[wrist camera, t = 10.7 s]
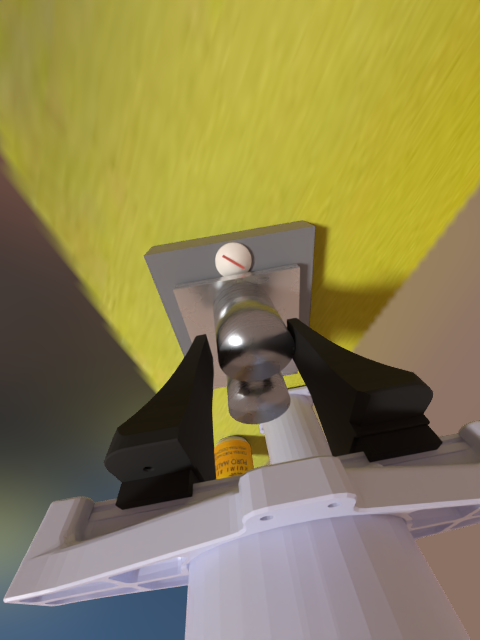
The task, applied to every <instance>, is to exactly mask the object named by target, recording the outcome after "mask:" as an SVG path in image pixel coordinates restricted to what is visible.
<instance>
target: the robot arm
mask: <svg viewBox="0 0 480 640" xmlns="http://www.w3.org/2000/svg"><path fill="white" fill-rule="evenodd" d="M287 329H288V331H289V332H290V334H291V336H292V338H293V340H294V343H295V352H294V355H293V357H292V359H293V361H294V363H295V365H296V367H297V369H298V371H299V373H300V374H301V376H302V378H303V380H304V382H305V384H306V386H304V387H298V388H293V389H287V390H288V392H289V395H290V398H291V403H290V406H289V408H288V409H287V411H286V412H285V413H284V414H283V415H281V416H280V417H278V418H276V419H274V420H272V421H269V422H266V423H261V424H259V427H260V433H261V434H265V439H266V444H267V449H268V454H269V458H270V463H271V465H266V466H261V467H257V468H254V469H251V470H249V471H247V472H246V473H244V474H243V475H237V476H232V477H227V478H222V479H216V469H215V455H214V440H213V421H212V398H213V381H214V365H213V356H212V353H211V349H210V346H209V342H208V339H207V336H206V334H203V335H198V336H196V337H195V339H194V341H193V343H192V345H191V346H190V348H189V350H188V352H187V354H186V355H185V357H184V359H183V360H182V362H181V363H180V365H179V366H178V368H177V369H176V371H175V372H174V374H173V375H172V376H171V378H170V379H169V380H168V381H167V383H166V384H165V385H164V386H163V387H162V388H161V389H160V391H159V392H158V393H157V394H156V395H155V396H154V397H153V398H152V399H151V400H150V401H149V402H148V403H147V404H146V405H145V406H143V407H142V408H141V409H140V410H139V411H138V412H137V413H136V414H135V415H133V416H132V417H131V418H129V419H128V420H127V421H126V422H125V423H123V424H122V425H121V426H119V427H118V428H117V430H116V433H115V434H114V437H113V439H112V442H111V445H110V447H109V450H108V453H107V455H106V458H105V460H104V464H105V467H106V468H107V470H108V471H109V472H110V473H112V474H113V475H114V476H116V478H117V479H119V480H120V481H121V482H122V484H121V487H120V491H119V494H118V497H117V499H112V500H106V501H102V502H96V503H94V502H93V501H92V500H91V499H90V498H87V497H74V498H69V499H64V500H59V501H54V502H53V503H51V505H50V507H49V509H48V511H47V513H46V515H45V517H44V519H43V521H42V523H41V525H40V527H39V529H38V531H37V533H36V535H35V537H34V539H33V541H32V543H31V545H30V547H29V549H28V551H27V553H26V555H25V557H24V559H23V561H22V563H21V565H20V567H19V569H18V571H17V573H16V575H15V577H14V579H13V581H12V583H11V585H10V587H9V589H8V591H7V593H6V595H5V597H4V599H3V600H4V602H5V603H17V604H31V605H44V606H58V605H63V604H68V603H74V602H79V601H85V600H90V599H96V598H102V597H109V596H115V595H122V594H128V593H135V592H143V591H150V590H156V589H163V588H170V587H177V586H184V585H188V596H187V597H188V598H187V613H186V630H185V640H471V639H470V637H469V635H468V634H467V632H466V630H465V628H464V627H463V625H462V623H461V621H460V619H459V618H458V616H457V614H456V612H455V611H454V609H453V607H452V605H451V604H450V602H449V600H448V598H447V596H446V595H445V593H444V591H443V589H442V588H441V586H440V584H439V582H438V581H437V579H436V577H435V575H434V573H433V572H432V570H431V568H430V566H429V565H428V563H427V561H426V559H425V558H424V556H423V554H422V553H421V550H420V549H419V547H418V545H417V543H416V542H415V539H418V538H422V537H426V536H430V535H434V534H438V533H442V532H446V531H450V530H454V529H458V528H462V527H466V526H470V525H474V524H478V523H480V420H479V421H474V422H470V423H468V424H466V425H464V426H463V427H462V428H461V429H460V430H459V433H457V434H453V435H447V436H442V437H438V436H437V435H436V434H435V433H434V432H433V430H432V429H431V428H430V427H429V426H428V424H429V423H430V422H429V420H428V419H427V418H426V417H425V415H424V414H423V413H424V412H425V410H426V409H427V407H428V405H429V404H430V402H431V400H432V398H433V391H432V390H431V389H430V387H429V386H427V385H426V384H425V383H424V382H423V381H422V380H421V379H420V378H419V377H418V376H417V375H415V374H414V373H413V372H409V371H405V370H402V369H398V368H394V367H391V366H387V365H384V364H381V363H378V362H375V361H373V360H370V359H367V358H364V357H362V356H360V355H357V354H355V353H353V352H350V351H348V350H346V349H344V348H342V347H340V346H338V345H336V344H335V343H333V342H331V341H329V340H328V339H326V338H324V337H323V336H321V335H320V334H318V333H317V332H315V331H314V330H312V329H311V328H310V327H308V326H307V325H306V324H304V323H303V322H301V321H300V320H299V319H297V318H292V319H287ZM313 403H314V405H315V408H316V411H317V413H318V416H319V419H320V422H321V424H322V427H323V430H324V433H325V436H326V438H325V436H324V434H323V431H322V429H321V427H320V425H319V422H318V421H317V418H316V416H315V413H314V411H313V409H312V405H313ZM326 439H327V440H326ZM327 442H328V443H327Z"/></svg>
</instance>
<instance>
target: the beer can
mask: <svg viewBox="0 0 480 640" xmlns="http://www.w3.org/2000/svg"><path fill="white" fill-rule="evenodd" d="M214 455H215V469H216V479H222V478H227V477H232V476H237V475H243V474H244V473H246V472H247V471H249V470H251V469H254V467H253V460H252V453H251V446H250V444H249V443H248V442H247V441H246V440H245V439H244V438H242V437H238V436H231V437H226V438H223V439H221V440H220V441H219V442H218V443H217V445H216V447H215V448H214Z"/></svg>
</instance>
